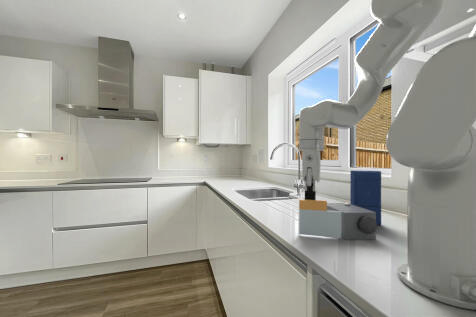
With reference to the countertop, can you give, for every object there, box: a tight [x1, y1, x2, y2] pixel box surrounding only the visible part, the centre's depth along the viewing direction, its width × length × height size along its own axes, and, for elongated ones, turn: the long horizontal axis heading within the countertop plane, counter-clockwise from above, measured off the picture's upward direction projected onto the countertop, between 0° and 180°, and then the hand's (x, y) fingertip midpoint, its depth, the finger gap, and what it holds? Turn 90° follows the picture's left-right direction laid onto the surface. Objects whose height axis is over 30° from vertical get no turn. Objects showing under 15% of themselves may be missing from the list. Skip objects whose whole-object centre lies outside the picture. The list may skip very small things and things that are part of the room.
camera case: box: [327, 202, 378, 241], centre depth 67 cm, size 16×10×9 cm, turn 5°
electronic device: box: [349, 170, 382, 226], centre depth 77 cm, size 10×5×20 cm, turn 84°
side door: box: [298, 198, 342, 239], centre depth 62 cm, size 12×1×11 cm, turn 75°
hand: (310, 203), depth 65 cm, fingers closed
